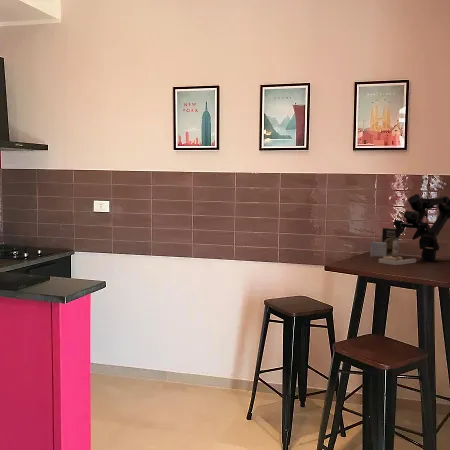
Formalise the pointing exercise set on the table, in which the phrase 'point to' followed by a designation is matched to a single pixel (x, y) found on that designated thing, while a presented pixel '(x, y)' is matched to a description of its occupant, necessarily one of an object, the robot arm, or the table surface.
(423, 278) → the table surface
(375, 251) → the medicine box
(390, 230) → the coffee box
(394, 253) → the handle block
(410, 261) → the shelf lane
